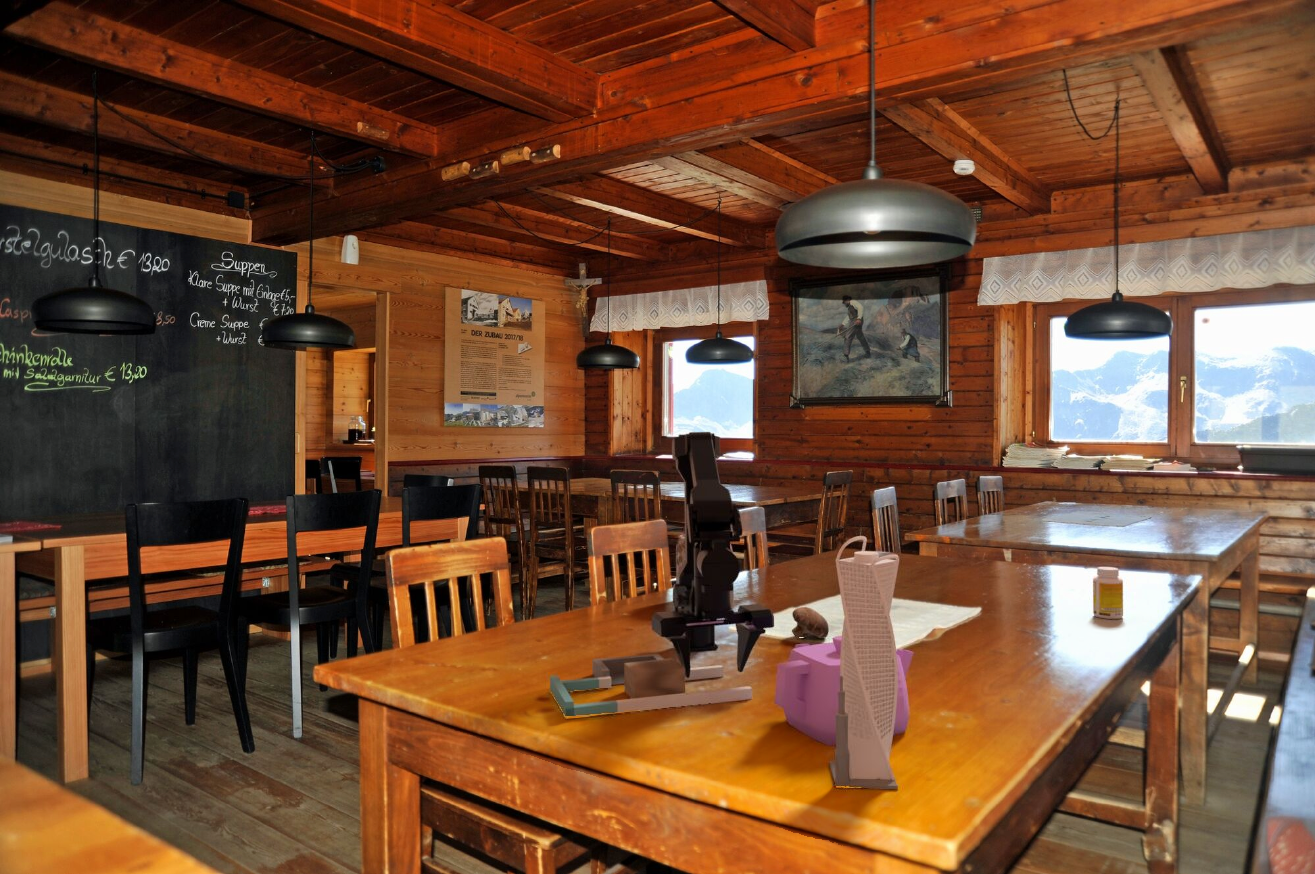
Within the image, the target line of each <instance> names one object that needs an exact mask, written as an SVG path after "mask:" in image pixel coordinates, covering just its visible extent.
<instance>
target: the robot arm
mask: <svg viewBox="0 0 1315 874" xmlns="http://www.w3.org/2000/svg"><path fill="white" fill-rule="evenodd" d="M671 456H672V460H673V461H675V467H676V470H677V471H678V473H679V475H680V477H681V478H682V480H683V483H684V487H683V488H684V491H683V493H684V534H685V561H684V563H683V564H682V566H681V568H680V569H679V571H678V573H677V584H676V583H674V584H673V588H672V610H671V611H670V610H669V611H658V612H657V611H655V612H654V614H653V615H652V617H651V631H653V632H654V633H655V634H656V635H658V636H659V637H660V638H665V639H666V640H667V641H669V642H671V643H672V645H673V647H674V649H675V652H676V655H677V657H678V660H679V662H680V663H679V664H680V665H681V666H683V667H684V668H685V677H687V678H689V677H690V668H691V652H692V651H695V652H696V651H706V650H714V649H715V650H717V649H719V645H718V644H717V643H716V639H715V638H716V636H715V635H716V634H715V633H716V632H715V629H716V628H715V627H717V626H727V625H729V626H730V625H735V629H736V633H737V648H736V649H737V650H736V651H737V652H736V653H737V654H736V665H737V667H736V668H737V672H739V673H742V672H743V671H744V669H745V667H746V664H747V662H748V659H749V657H750V655H751V653H752V651H753V648H754V647H755V646H756V643H757V642H758V640H759V638H760V636H761V635H764V634H766V629H773V628H774V627H775V615H774V613H773V610H772V609H770V608H769V607H767V606H764V605H762V604H760V603H754V604H753V603H752V604H741V605H739V606H738V608H737V611H734V610H733V608H731V591H733V584H732V583H733V582H734V583H735V582H736V580H737V579H738V577H739V575H740V570H741V564H740V561H739V559H738V557H737V556H736V554H735V553H734V552H733V553H732V552H731V548H730V543H741V537H742V536H743V532H744V531H743V530H744V529H743V525H742V519H741V512H740V509H738V507H737V503H736V502H733V499H732V496H731V493H730V490H729V489H728V488H727V487H726V486H724V485H723V484H721V480H720V474H719V470H718V464H717V460H719V459H720V457H721V437H720V436H718V435H715V433H712V432H710V431H690V432H688V433H685V434H678V436H676V437H674V438H673V439H672V441H671Z"/></svg>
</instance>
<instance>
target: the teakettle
mask: <svg viewBox="0 0 1315 874" xmlns="http://www.w3.org/2000/svg"><path fill="white" fill-rule="evenodd" d="M831 639H832V641H831V642H825V643H819V644H818V643H817V644H811V645H810V643H800V644H795V647H794V648H793V649H791V651H790V654H789V657H788V661H787V662H781V663H777V666H776V668H777V669H776V671H777V672H776V679H775V680H776V682H775V683H776V684H775V692H774V694H775V695H774V704H775V705H777V706H778V707H780V708H782V709H783V713H784V717H785V720H786V722H787V723H788V725H790V727H791V726H792V727H793V728H795V729H796V730H798V731H799V732H801V733H803V734H804V735H806V736H808V737H809V738H811V739H813V740H815V741H817V742H818V743H819V742H820V743H821V744H823V745H826V746H829V747H830V746H833V747H836V718H835V712H838V711H839V707H838V691H839V690H840V655H841V640H842V635H837V636H834V637H832V638H831ZM896 653H897V668H898V691H897V706H896V716H895V724H894V732H893V736H896V735H900V734H902V733H905V732H906V730H907V726H908V723H909V720H910V703H909V695H908V693H909V692H908V689H907V688H908V687H907V681H906V677H907V674H908V671H909V668H910V666H911V661H913V660H912V659H913V656H914V652H913V651H911V650H908V649H900V648H899V649H898V648H896Z"/></svg>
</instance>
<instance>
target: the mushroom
mask: <svg viewBox="0 0 1315 874" xmlns="http://www.w3.org/2000/svg"><path fill="white" fill-rule="evenodd" d="M792 618H793V621H794V622H796V626H795V627H793V629H791V632H792V634H793V636H795V637H796V639H799V637H805V636H807V637H808V636H810V635H811V636H815V637H817V638H818V637H819V639H821V638H824V639H826V638H827V637H828V635H829V627H830V626H829V623H828V621H827V619H826V618H825V617H824V616H823V615H821V614H820V613H819V612H817V611H816V610H815V609H813V608H812V607H807V606H803V607H797V608H795V609H794V610H793V611H792ZM805 638H806V637H805Z"/></svg>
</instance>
